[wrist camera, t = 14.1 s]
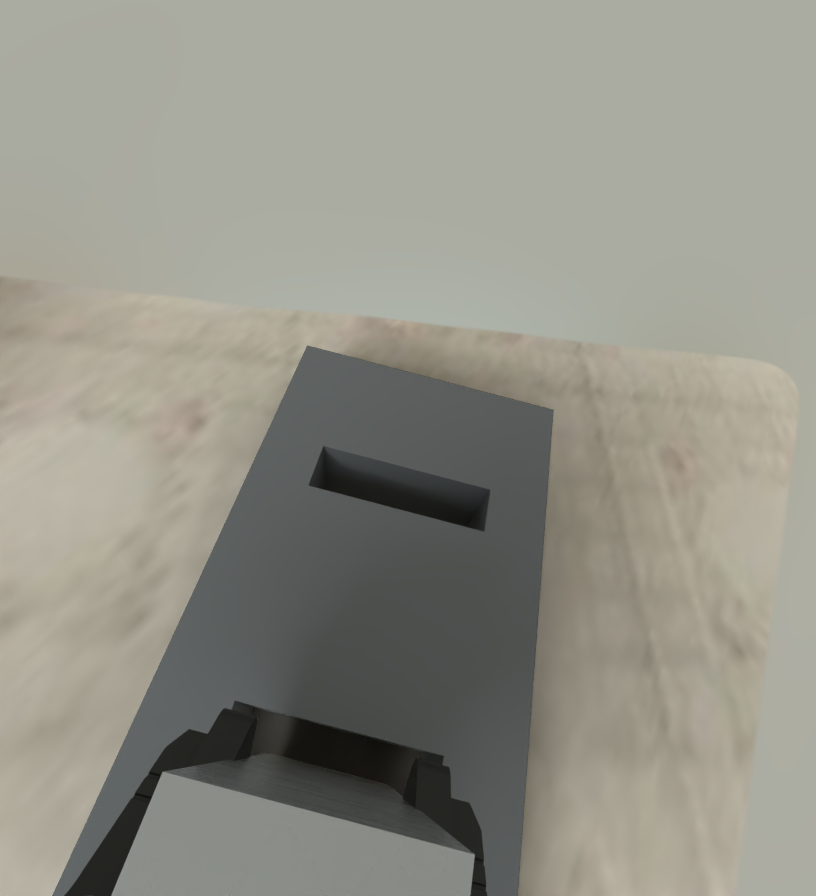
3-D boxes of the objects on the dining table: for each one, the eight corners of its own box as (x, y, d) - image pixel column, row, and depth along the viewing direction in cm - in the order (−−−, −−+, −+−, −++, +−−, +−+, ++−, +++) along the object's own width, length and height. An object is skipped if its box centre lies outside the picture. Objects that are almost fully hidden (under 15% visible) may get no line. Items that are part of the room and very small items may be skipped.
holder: (446, 1159, 11) (486, 1312, 8) (35, 1050, 11) (-72, 1162, 8) (523, 454, 22) (553, 409, 19) (311, 398, 22) (307, 345, 19)
